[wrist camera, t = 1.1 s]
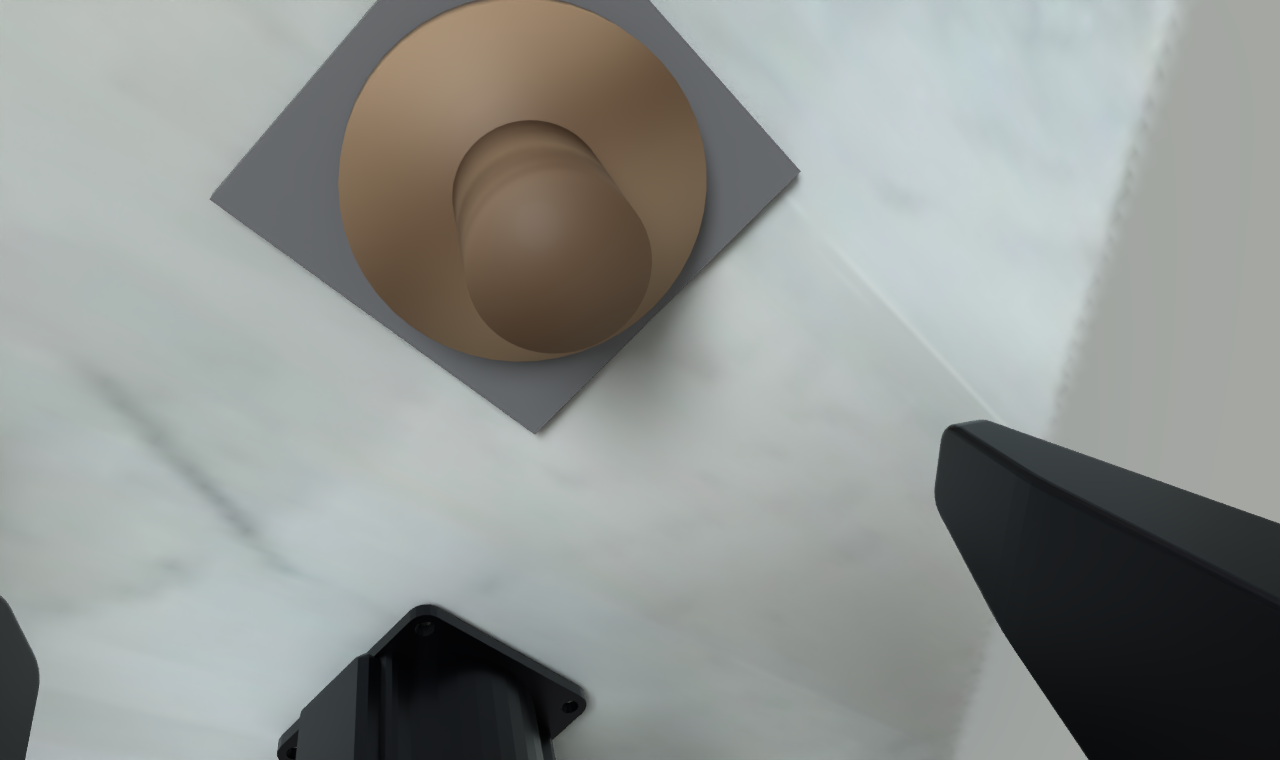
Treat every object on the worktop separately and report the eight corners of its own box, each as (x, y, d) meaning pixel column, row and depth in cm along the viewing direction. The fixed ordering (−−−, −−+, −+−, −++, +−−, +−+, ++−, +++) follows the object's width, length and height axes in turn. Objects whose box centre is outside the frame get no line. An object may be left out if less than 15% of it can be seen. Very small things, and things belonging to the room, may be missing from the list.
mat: (794, 166, 22) (800, 171, 21) (532, 426, 23) (534, 434, 23) (509, -155, 17) (511, -156, 17) (213, 193, 19) (209, 199, 19)
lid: (759, 173, 21) (852, 250, 17) (533, 399, 23) (566, 523, 18) (513, -95, 17) (553, -83, 13) (261, 196, 19) (223, 292, 15)
